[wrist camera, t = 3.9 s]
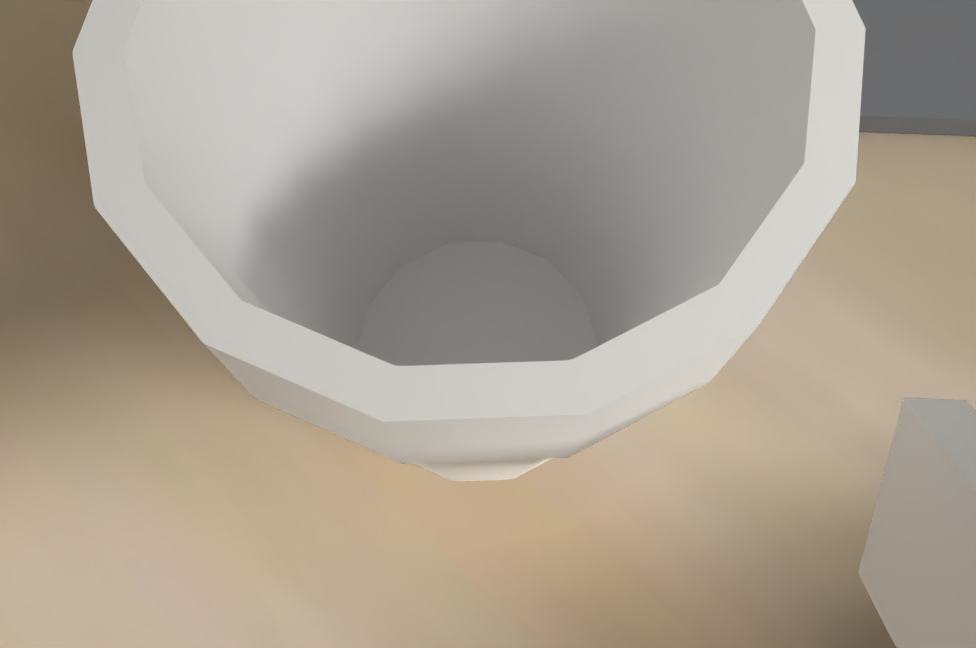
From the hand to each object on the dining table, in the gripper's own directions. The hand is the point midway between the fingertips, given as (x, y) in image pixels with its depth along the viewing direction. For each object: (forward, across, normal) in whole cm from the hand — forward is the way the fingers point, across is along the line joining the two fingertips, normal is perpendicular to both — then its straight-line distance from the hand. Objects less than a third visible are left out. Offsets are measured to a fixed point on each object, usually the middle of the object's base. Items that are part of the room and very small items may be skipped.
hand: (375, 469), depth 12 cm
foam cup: (+11, +1, -4) cm, 12 cm away
